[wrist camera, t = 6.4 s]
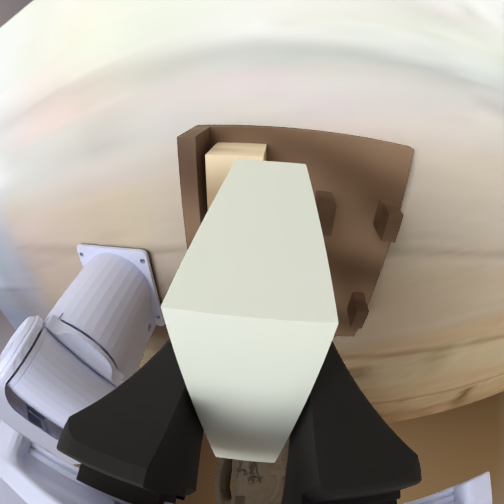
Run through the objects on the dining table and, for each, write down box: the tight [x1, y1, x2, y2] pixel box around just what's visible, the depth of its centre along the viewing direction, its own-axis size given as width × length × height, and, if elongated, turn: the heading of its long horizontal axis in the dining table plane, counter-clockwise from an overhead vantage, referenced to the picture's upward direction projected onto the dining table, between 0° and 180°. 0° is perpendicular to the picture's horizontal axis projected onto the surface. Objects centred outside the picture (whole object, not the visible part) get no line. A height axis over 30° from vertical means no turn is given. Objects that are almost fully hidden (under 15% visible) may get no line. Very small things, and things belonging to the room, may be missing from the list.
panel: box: [161, 159, 338, 463], centre depth 10 cm, size 10×3×8 cm, turn 179°
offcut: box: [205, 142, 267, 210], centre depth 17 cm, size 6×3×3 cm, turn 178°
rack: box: [177, 125, 414, 336], centre depth 19 cm, size 18×14×4 cm
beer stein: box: [214, 435, 290, 504], centre depth 25 cm, size 15×11×20 cm
